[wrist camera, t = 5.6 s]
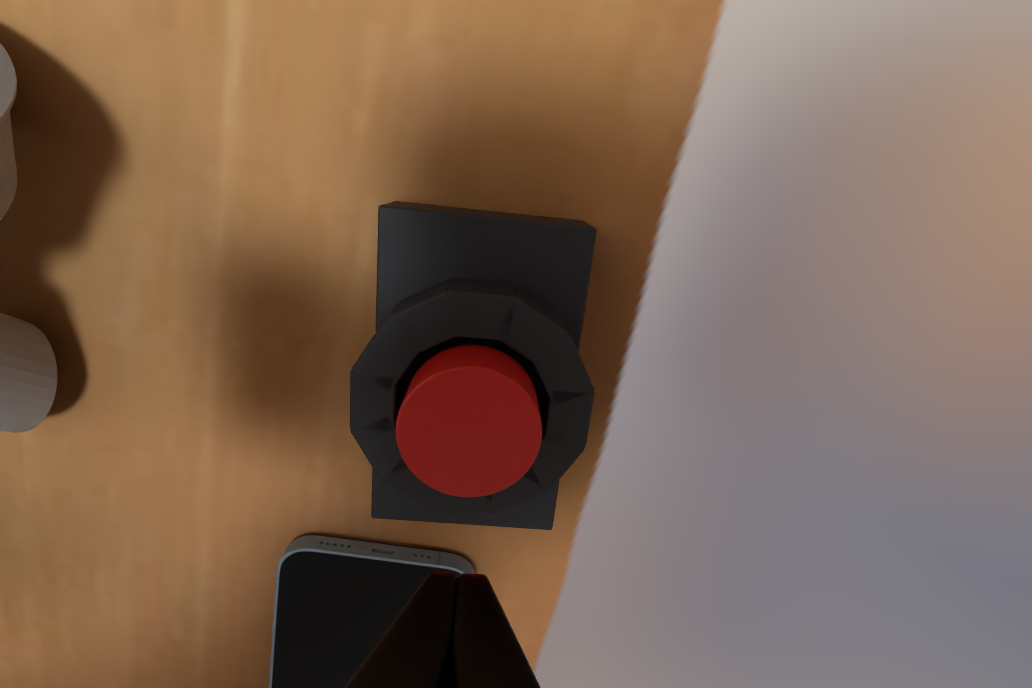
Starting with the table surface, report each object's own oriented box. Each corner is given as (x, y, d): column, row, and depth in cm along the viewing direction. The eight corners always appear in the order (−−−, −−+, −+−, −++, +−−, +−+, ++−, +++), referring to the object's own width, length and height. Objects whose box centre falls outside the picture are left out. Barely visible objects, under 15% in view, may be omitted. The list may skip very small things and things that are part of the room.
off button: (529, 467, 15) (533, 503, 14) (404, 457, 15) (392, 493, 13) (544, 349, 14) (551, 373, 12) (409, 337, 14) (397, 360, 12)
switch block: (553, 493, 20) (566, 570, 16) (377, 480, 19) (348, 556, 16) (592, 221, 17) (620, 236, 13) (385, 199, 16) (351, 208, 12)
